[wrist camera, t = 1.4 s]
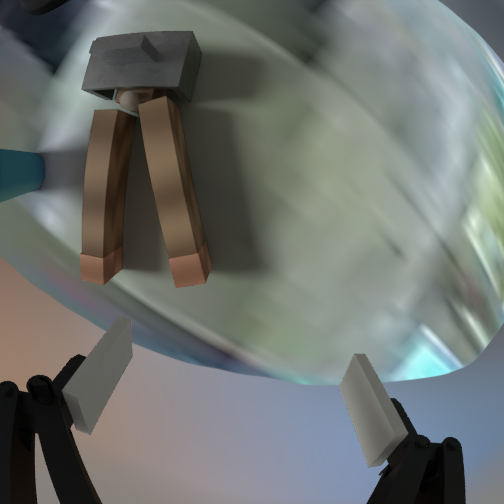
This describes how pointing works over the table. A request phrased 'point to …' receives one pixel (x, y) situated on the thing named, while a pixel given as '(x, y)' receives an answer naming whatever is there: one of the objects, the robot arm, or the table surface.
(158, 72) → the collar
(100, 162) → the base
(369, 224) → the table surface
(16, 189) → the cup
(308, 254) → the table surface
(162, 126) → the hinged jaw
